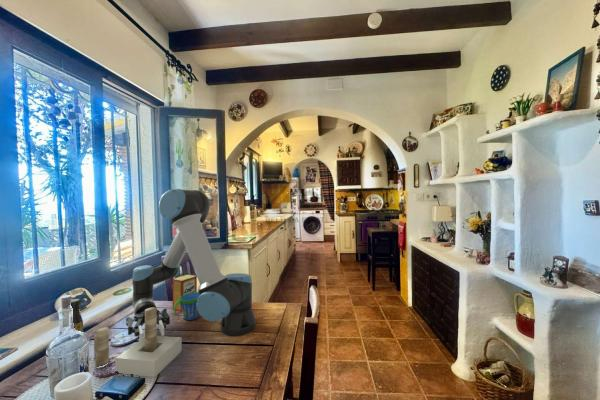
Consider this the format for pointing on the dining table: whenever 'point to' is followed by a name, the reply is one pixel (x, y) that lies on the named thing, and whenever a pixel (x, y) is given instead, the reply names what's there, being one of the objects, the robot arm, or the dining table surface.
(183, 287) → the baking soda box
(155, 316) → the tall dowel
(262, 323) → the dining table surface
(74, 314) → the sauce bottle
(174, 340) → the hole block
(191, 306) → the snack cup
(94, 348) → the short dowel
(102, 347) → the medium dowel
